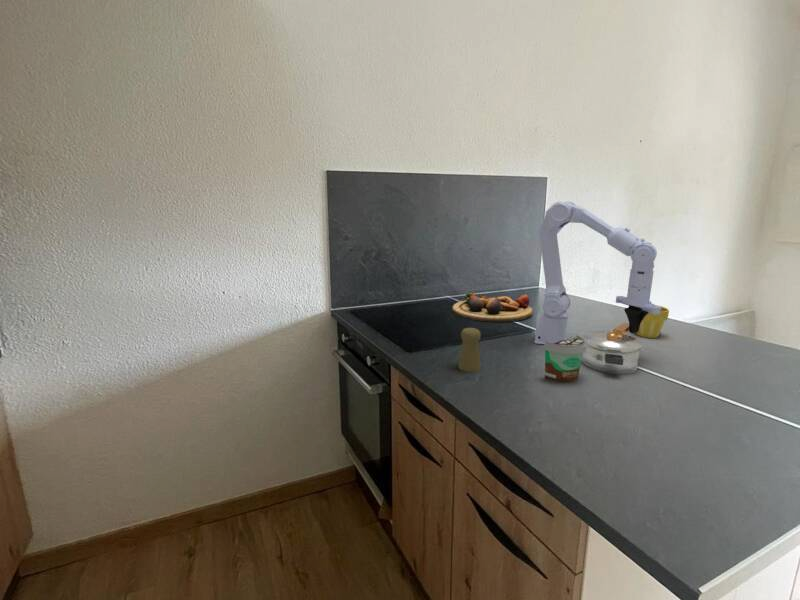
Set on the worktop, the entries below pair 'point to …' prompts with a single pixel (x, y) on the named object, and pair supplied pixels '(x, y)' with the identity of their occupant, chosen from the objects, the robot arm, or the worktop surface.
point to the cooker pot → (610, 360)
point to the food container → (564, 359)
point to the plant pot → (653, 323)
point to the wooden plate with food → (493, 308)
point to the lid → (613, 340)
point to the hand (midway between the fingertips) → (633, 332)
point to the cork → (470, 350)
